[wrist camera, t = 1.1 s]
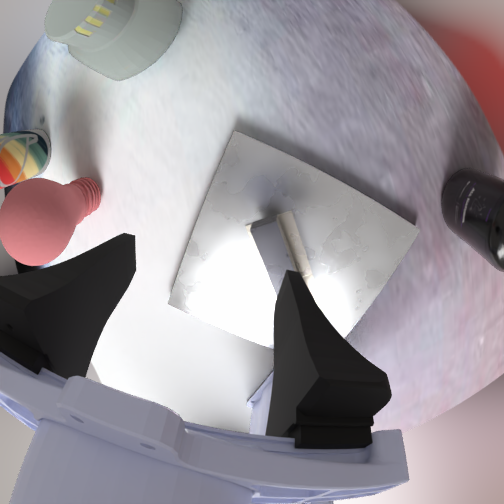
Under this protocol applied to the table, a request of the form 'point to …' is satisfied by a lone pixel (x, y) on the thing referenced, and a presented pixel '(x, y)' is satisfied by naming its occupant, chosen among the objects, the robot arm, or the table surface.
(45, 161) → the lotion bottle
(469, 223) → the supplement bottle
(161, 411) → the robot arm
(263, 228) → the swing arm
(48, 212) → the light bulb
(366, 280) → the square grey plate
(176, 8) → the air freshener
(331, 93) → the table surface
